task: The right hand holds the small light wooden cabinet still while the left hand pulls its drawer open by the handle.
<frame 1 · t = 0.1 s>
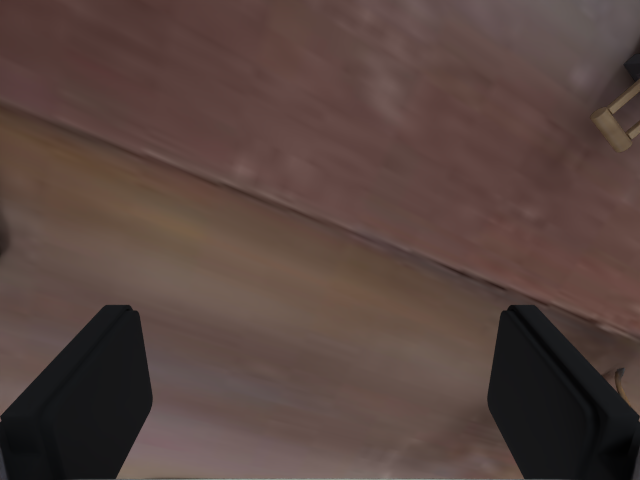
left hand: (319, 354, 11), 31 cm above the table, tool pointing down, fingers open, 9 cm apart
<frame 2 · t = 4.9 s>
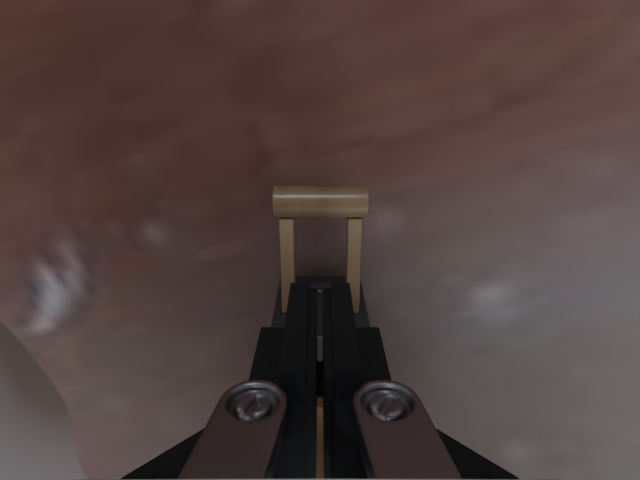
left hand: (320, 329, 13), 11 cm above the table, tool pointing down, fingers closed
cabinet: (320, 425, 27), on the table, touching right hand
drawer: (320, 382, 22), point 4 cm above the table, slide at 1.6 cm
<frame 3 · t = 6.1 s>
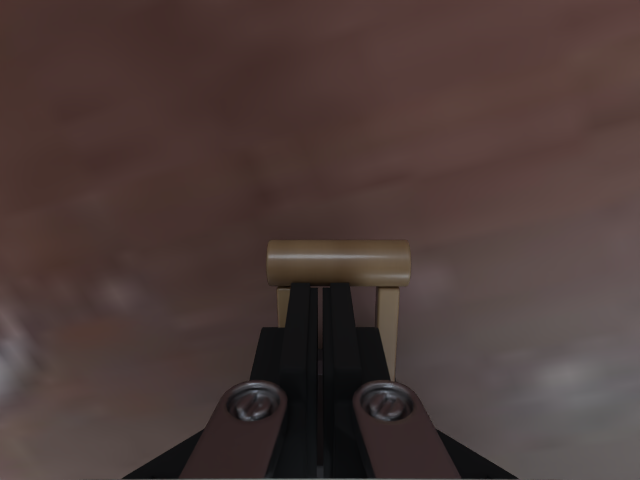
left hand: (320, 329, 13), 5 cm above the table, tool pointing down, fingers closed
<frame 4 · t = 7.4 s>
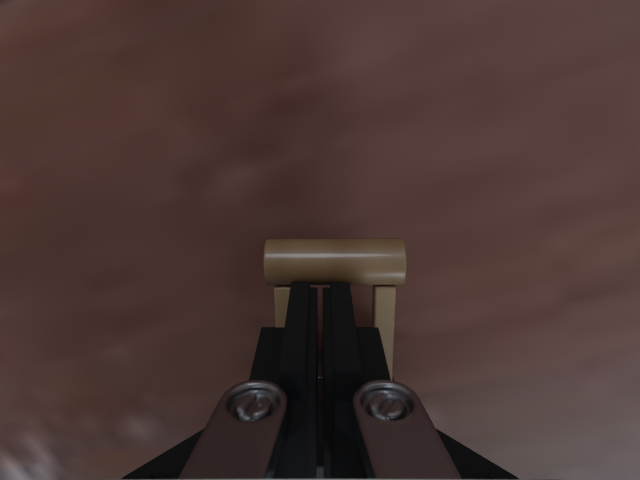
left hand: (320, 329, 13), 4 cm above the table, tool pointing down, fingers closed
when the right hand's fingers open (5 cm above the table, at t = 8.9 s): cabinet stays where it is, on the table.
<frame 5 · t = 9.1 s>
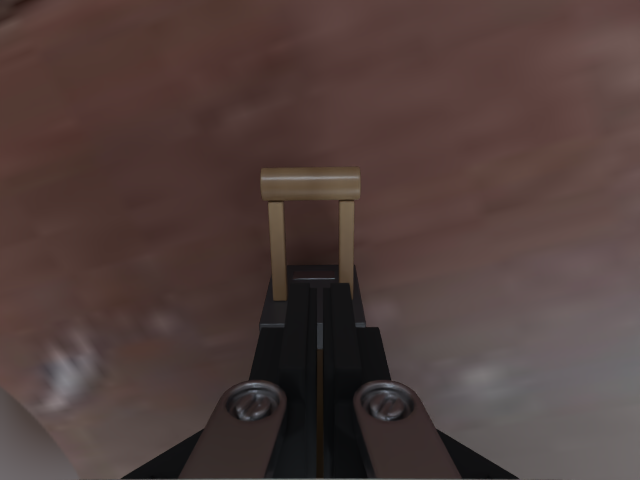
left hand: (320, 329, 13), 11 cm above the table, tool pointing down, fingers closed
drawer: (315, 373, 21), point 4 cm above the table, slide at 7.6 cm
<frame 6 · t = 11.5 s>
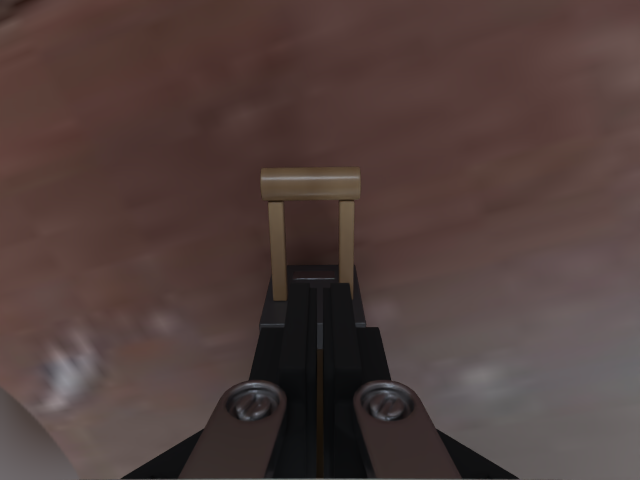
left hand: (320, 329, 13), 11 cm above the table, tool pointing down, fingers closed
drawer: (315, 373, 21), point 4 cm above the table, slide at 7.6 cm
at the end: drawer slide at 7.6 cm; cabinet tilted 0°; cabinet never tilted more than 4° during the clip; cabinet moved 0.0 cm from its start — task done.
